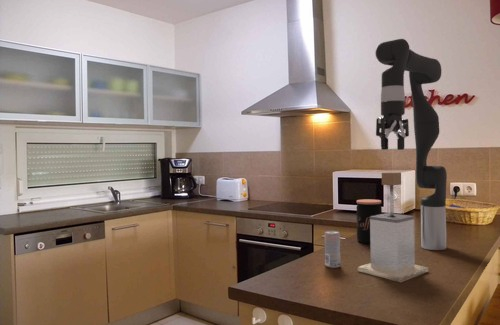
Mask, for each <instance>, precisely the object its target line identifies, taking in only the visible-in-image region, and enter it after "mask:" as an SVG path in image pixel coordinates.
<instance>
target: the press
mask: <svg viewBox="0 0 500 325" xmlns="http://www.w3.org/2000/svg"><path fill="white" fill-rule="evenodd" d="M369 245H370V262H369V263H366V264H363V265H360V266H357V272H360V273H362V274H367V275H371V276H374V277H378V278H382V279H386V280H389V281H394V282H399V283H403V282H405V281H408V280H411V279H414V278H416V277H419V276H422V275H423V274H426V273H428V272H429V266H425V265H424V266H423V265H418V264H415V261H416V260H415V258H416V257H415V253H416V252H415V216H414V215H407V214H399V213H398V214H397V213H394V217H390V212H385V213H382V214H380V215H375V216H370V244H369Z"/></svg>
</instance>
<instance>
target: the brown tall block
mask: <svg viewBox="0 0 500 325" xmlns="http://www.w3.org/2000/svg"><path fill="white" fill-rule="evenodd" d="M381 185H382V186H389V213H390V217H394V214H395V207H394V206H395V203H394V202H395V199H394V198H395V196H394V194H395V193H394V186H401V185H402V172H398V171H396V172H395V171H387V172H381Z"/></svg>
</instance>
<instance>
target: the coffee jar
mask: <svg viewBox="0 0 500 325" xmlns="http://www.w3.org/2000/svg"><path fill="white" fill-rule="evenodd" d="M356 204H357V205H356V239H357V241H358V242H359V243H360V244H361V243H362V244H366V245H367V244H368V245H370V216H375V215H380V214H383V213H382V212H383V210H382V209H383V208H382V205H381V204H382V200H380V199H371V198H370V199H369V198H367V199H365V198H364V199H357V200H356Z"/></svg>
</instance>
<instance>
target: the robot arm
mask: <svg viewBox="0 0 500 325" xmlns="http://www.w3.org/2000/svg"><path fill="white" fill-rule="evenodd" d="M374 52H375V58H376V59H377V61H378V62H379V63H381V64H382V65H386V66H391V67H389V68H387V69H384V70H383V71H382V72H381V90H380V115H381V116H382V117H377V118H376V120H375V121H376V124H375V126H376V127H375V136H376V137H379V138H380V148H381V149H380V150H382V151H386V150H387V151H388V150H389V135H390V134H391V133H392V132H393V133H394V134H395V135H396V138H397V139H396V140H397V143H396V145H397V146H396V148H397V150H398V151H399V150H405V138H407V137H409V136H410V133H409V132H410V130H409V128H410V127H409V119H408V118H402V117H403V116H404V115H405V113H406V111H405V110H406V106H405V105H406V103H405V98H406V96H405V86H404V85H405V84H404V83H405V79H404V78H405V77H404V76H405V71H406V72H408V78H409V85H410V90H411V91H410V92H411V99H412V110H413V111H412V112H413V114H412V115H413V129H414V130H413V131H414V139H415V141H414V142H415V143H414V144H415V157H416V158H415V179H416V180H415V181H416V184H417V186H418V188H420V189H432V190H434V193H433V194H431V195H428V196H424V197H422V198H421V199H420V240H421V241H420V242H421V243H420V244H421V246H420V247H421V249H424V250H429V251H443V250H446V249H447V218H446V217H447V216H446V215H447V214H446V213H447V212H446V211H447V210H446V209H447V208H446V205H447V204H446V201H447V183H448V182H447V181H448V180H447V178H448V177H447V176H448V174H447V170H446V167H445V166H442V165H427V160H428V156H429V154H430V151H431V149H432V147H433V146H434V144H435V143H436V141H437V139H438V138H439V135H440V121H439V120H440V118H439V115H438V112H437V111H436V109H435V108H434V107H433V106H432V104H431V103H430V102H429V100H427V98H426V96H425V95H424V94H425V93H424V91H423V87H422V85H426V84H433V83H437V82H439V80H440V79H441V77H442V64H441V63H440V61H439V60H438V59H436V58H433V57H432V58H431V57H428V56H425V55H422V54H418V53H416V52H415V51H413V49H411V48H410V45H409V42H408V41H407V40H406V39H405V38H398V39H393V40H387V41H383V42H380V44H379V43H378V45H377V46H376V49H375V51H374Z"/></svg>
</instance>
